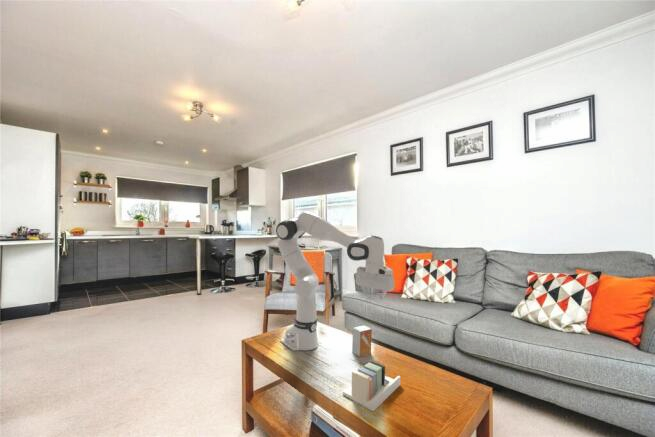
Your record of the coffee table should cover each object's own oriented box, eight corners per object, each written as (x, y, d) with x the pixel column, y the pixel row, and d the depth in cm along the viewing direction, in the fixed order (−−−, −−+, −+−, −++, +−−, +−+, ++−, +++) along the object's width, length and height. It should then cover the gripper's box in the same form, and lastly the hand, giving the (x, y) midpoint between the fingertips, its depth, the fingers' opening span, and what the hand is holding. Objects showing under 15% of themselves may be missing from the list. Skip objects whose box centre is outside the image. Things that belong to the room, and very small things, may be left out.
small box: (359, 357, 136) (360, 331, 136) (351, 352, 141) (352, 327, 142) (371, 353, 140) (372, 328, 141) (363, 348, 146) (364, 324, 146)
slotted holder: (342, 394, 105) (343, 369, 106) (371, 372, 122) (372, 350, 122) (373, 411, 96) (374, 383, 96) (400, 385, 113) (400, 361, 113)
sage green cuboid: (363, 385, 110) (364, 365, 110) (368, 381, 113) (369, 362, 113) (376, 391, 106) (376, 371, 106) (381, 387, 109) (381, 367, 109)
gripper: (353, 266, 135) (352, 294, 135) (390, 272, 122) (389, 302, 121) (360, 265, 140) (359, 292, 139) (396, 270, 126) (395, 300, 126)
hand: (373, 297), depth 130 cm, fingers open, 8 cm apart
